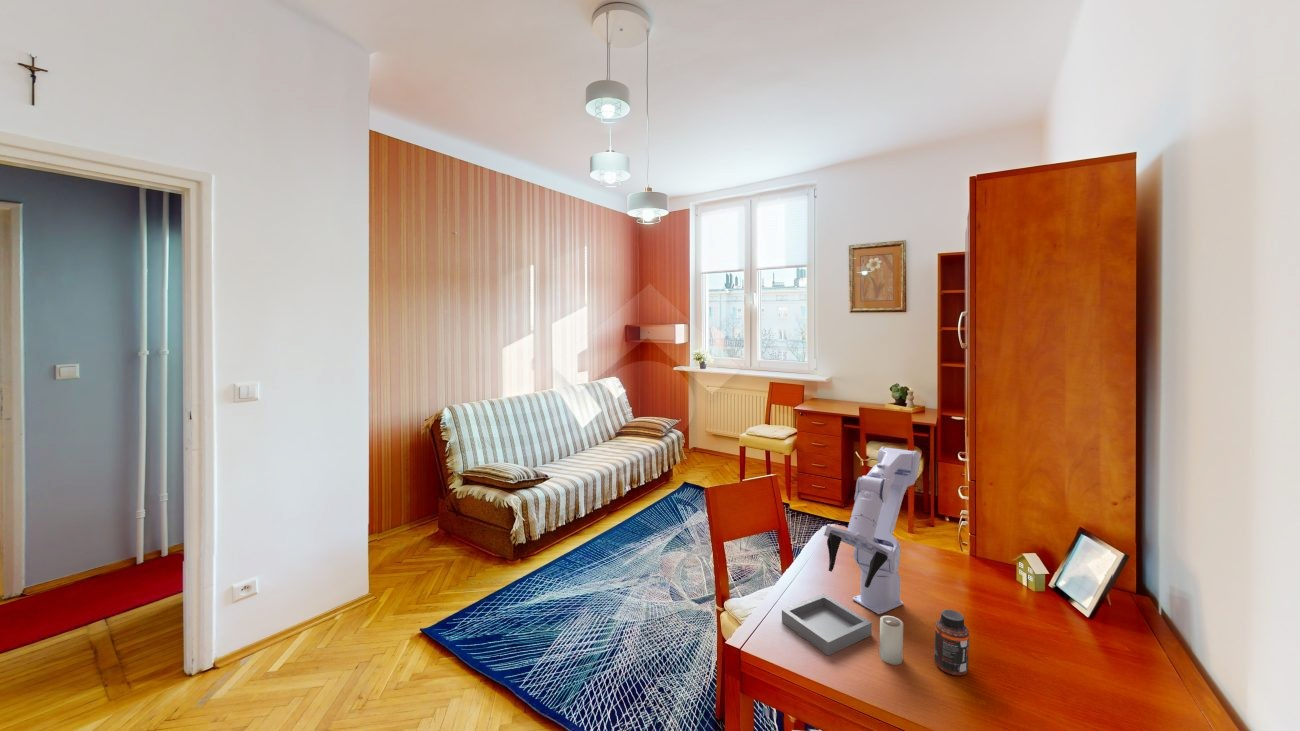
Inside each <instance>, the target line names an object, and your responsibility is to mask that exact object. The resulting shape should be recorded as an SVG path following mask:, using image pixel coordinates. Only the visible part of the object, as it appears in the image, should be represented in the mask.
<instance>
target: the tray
mask: <svg viewBox="0 0 1300 731" xmlns="http://www.w3.org/2000/svg"><path fill="white" fill-rule="evenodd" d="M781 622H782V623H783V624H784V625H785V626H787V627H788V628H790V629H791V630H792V631H794V632H795V633H796V634H798V635H799V636H800V637H802V638H803V639H804V640H806V641H807V642H809V643H810V644H812V645H813V646H814V647H815V648H817V649H818V650H820V651H821V652H822V653H824V654H825V655H826V656H830V655H832V654H835V653H836V652H840V651H841V650H844V649H845V648H847V647H850V646H851V645H854V644H856V643H858V642H860V641H863V640H864V639H866V638H869V637H870V636H872V632H873V631H872V629H873V627H872V626H873V625H872V621H870V620H869V619H866V618H865V617H863V616H861V615H860V614H858V613H856V612H855V611H853V610H852V609H850V608H849V607H846V606H845V605H843V604H841V603H840V602H838V601H837V600H835V599H833V598H832V597H830V596H828V595H827V594H824V593H822V594H819V595H817V596H814V597H812V598H808V599H806V600H804V601H801V602H798V603H795V604H794V605H791V606H787V607H786V608H783V609H781Z"/></svg>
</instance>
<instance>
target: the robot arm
mask: <svg viewBox="0 0 1300 731" xmlns="http://www.w3.org/2000/svg"><path fill="white" fill-rule="evenodd" d="M920 456H921V455H920V453H919V451H917V450H908V449H899V448H894V447H893V448H892V447H887V446H881V447H880V448H879V450H878V453H877V464H875V465H874V466H872V467H871V469H870V470H869V471H868V473H867V474H866V475H862V476H859V477H858V478H857V480H856V485H855V493H854V497H853V500H854V504H853V508H852V511H851V515H850V520H849V522H848V526H847V530H846V529H841V528H838V527H835V526H831V525H829V524H827V525H826V526H825V529H824V532H823V536H825V537H827V540H826V545H827V548H828V557H829V558H828V559H829V561H828V562H829V564H828V572H833V570H834V569H835V568H834V567H835V564H836V559H837V554H838V551H839V549H840V546H841V542H842V543H844V544H847V545H849V546H852V547H853V560H854V561H855V563H856V564H857V565H858V568H859V570H860V590H859V592H860V594H858V595H855V596H853V597H852V600H853V601H855V602H856V603H858V604H860V605H861V606H863V607H865V608H867V609H869V610H870V611H871V612H874V613H875V614H877V615H883V614H884V613H887V612H889V611H891V610H893V609H896V608H897V607H900V606H902V605H904V602H903V601H902V600H901V581H902V580H901V576H900V573H899V568H900V563H901V555H902V554H901V553H902V547H901V544H900V541H898V539H897V538H896V537H895V536H894V531H895V528H896V525H897V524H896V523H897V520H898V517H899V514H900V510H901V506H902V502H903V499H904V495H905V494H906V492H907V488H908V487H911V486H913V485H915V483H916V481H917V478H918V475H919V470H920V463H921V457H920Z"/></svg>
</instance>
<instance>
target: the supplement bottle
mask: <svg viewBox="0 0 1300 731" xmlns="http://www.w3.org/2000/svg"><path fill="white" fill-rule="evenodd" d="M934 627H935V628H934V631H935V632H934V634H935V635H934V663H935V665H936V666H937V667H938V668H939V669H940V670H941V671H943V672H945V673H947V674H949V675H953V676H965V675H966V674H967V673H968V671H969V658H970V657H969V654H970V653H969V652H970V650H969V648H970V630H969V628H968V627H967V626H966V624H965V617H964V615H963V614H962V613H960V612H958V611H956V610H954V609H943V610H941V613H940V618H939V619H937V620H936V622H935V626H934Z"/></svg>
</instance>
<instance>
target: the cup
mask: <svg viewBox="0 0 1300 731" xmlns="http://www.w3.org/2000/svg"><path fill="white" fill-rule="evenodd" d="M903 642H904V622H903V621H902V620H901V619H900V618H898V617H896V616H892V615H883V616H880V619H879V650H878V651H879V654H878V656H879V658H880V659H881V661H883V662H885V663H886V664H888V665H894V666H897V665H901V664H902V663H903V649H904V648H903V646H904V643H903Z"/></svg>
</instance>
